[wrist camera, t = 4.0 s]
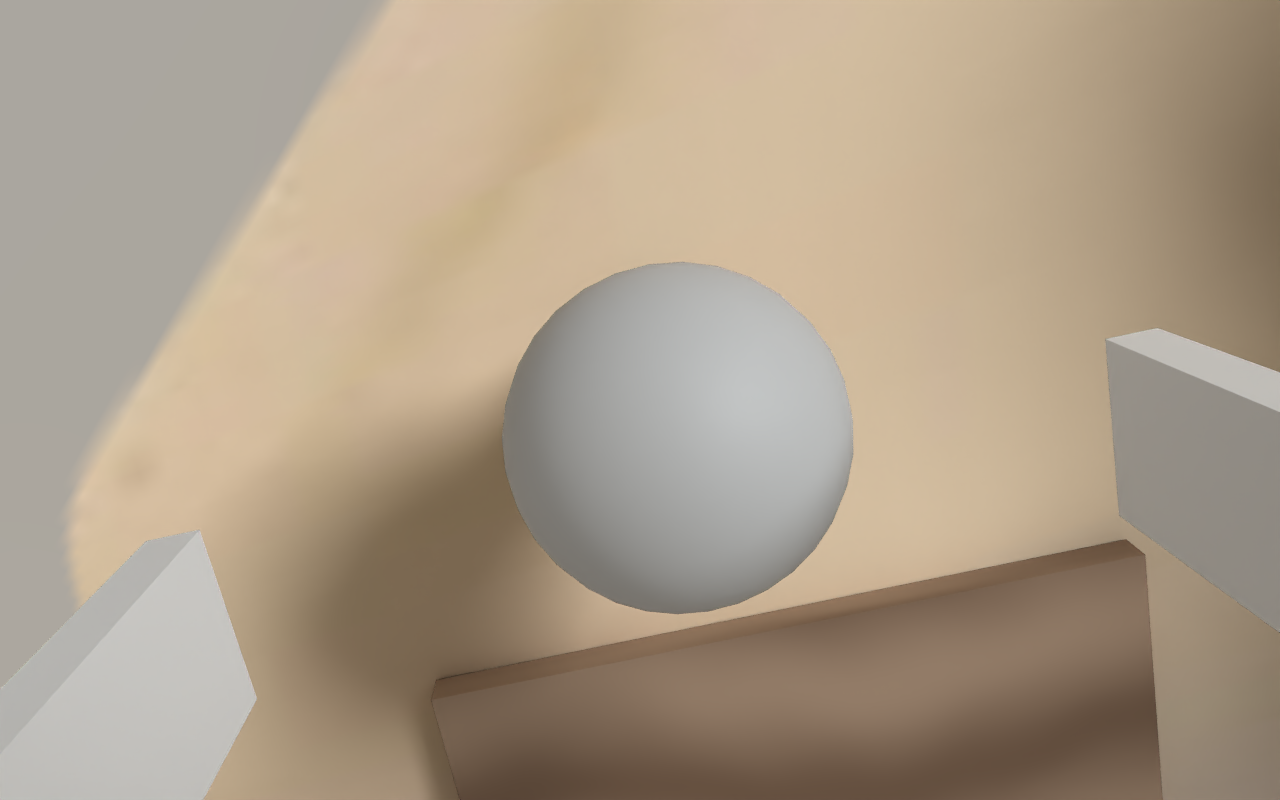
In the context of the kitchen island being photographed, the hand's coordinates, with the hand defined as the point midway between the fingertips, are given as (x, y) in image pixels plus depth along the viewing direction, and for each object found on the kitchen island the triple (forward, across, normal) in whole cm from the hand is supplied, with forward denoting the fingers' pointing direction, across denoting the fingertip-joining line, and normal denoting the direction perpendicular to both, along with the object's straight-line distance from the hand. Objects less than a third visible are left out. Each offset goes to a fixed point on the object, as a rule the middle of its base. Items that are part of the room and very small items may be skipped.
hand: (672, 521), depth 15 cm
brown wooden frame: (+12, +3, -18) cm, 22 cm away
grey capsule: (+12, +1, 0) cm, 12 cm away
